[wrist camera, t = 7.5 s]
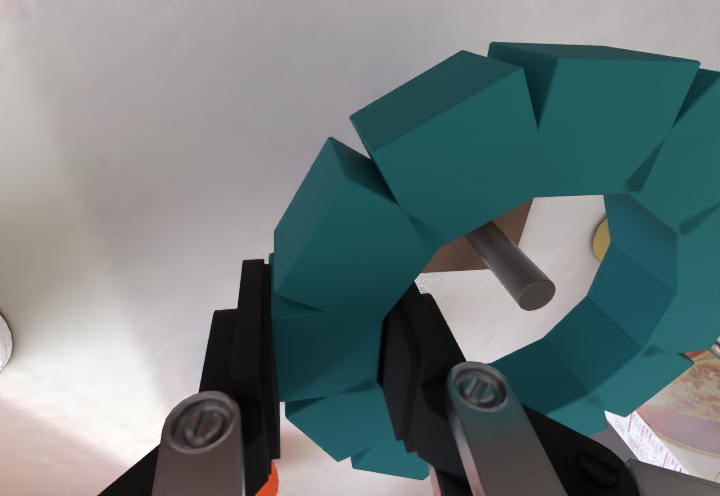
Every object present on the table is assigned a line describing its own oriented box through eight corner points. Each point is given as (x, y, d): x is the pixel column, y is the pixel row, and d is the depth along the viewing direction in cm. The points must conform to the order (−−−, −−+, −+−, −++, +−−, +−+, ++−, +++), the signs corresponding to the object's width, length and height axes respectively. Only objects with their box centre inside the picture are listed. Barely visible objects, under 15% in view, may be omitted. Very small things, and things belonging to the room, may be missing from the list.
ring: (285, 432, 15) (287, 507, 13) (248, 32, 8) (239, 47, 6) (595, 390, 17) (641, 447, 15) (779, 52, 10) (914, 67, 8)
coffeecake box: (696, 282, 43) (952, 456, 27) (685, 326, 47) (903, 500, 31) (565, 330, 43) (740, 531, 27) (566, 370, 47) (719, 565, 31)
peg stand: (407, 263, 34) (453, 355, 26) (423, 163, 30) (486, 234, 21) (502, 258, 36) (576, 343, 27) (531, 163, 31) (631, 228, 23)
